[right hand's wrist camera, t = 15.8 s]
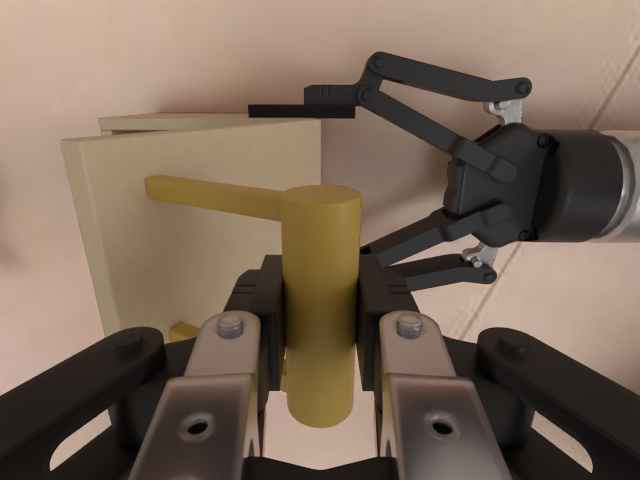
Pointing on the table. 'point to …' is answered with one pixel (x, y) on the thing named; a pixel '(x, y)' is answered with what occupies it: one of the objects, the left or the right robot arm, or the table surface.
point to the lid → (225, 241)
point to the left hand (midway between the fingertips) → (256, 185)
